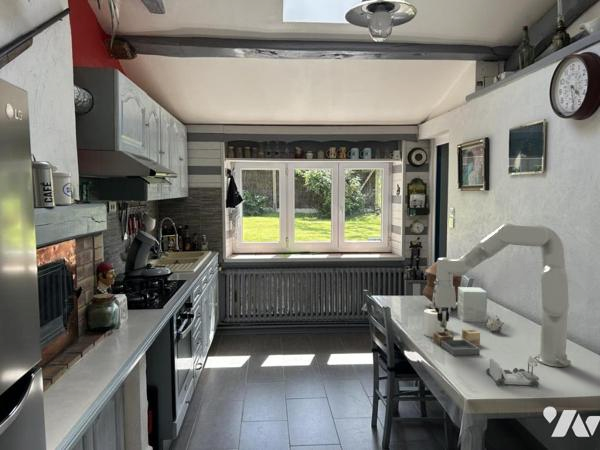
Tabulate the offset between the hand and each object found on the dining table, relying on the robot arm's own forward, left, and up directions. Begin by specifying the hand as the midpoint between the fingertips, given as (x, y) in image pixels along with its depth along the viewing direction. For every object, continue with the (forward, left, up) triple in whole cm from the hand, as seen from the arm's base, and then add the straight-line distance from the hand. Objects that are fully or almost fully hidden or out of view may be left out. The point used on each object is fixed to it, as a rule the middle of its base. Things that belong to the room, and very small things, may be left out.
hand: (443, 320), depth 213 cm
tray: (-11, -3, -11) cm, 16 cm away
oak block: (-1, -14, -11) cm, 18 cm away
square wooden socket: (0, 0, -11) cm, 11 cm away
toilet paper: (+14, -2, -12) cm, 18 cm away
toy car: (-44, -8, -12) cm, 46 cm away
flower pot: (+23, -10, -12) cm, 28 cm away
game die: (+14, -36, -12) cm, 40 cm away
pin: (0, 0, -3) cm, 3 cm away
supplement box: (+38, -37, -12) cm, 54 cm away
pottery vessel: (+67, -34, -12) cm, 76 cm away
